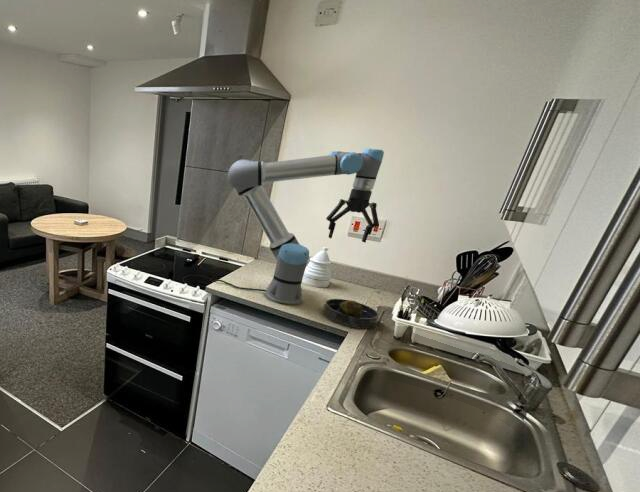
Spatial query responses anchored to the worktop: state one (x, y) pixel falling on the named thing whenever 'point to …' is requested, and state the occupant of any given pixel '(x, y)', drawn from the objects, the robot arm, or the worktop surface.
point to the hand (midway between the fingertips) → (346, 239)
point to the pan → (363, 321)
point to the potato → (351, 308)
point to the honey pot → (318, 270)
